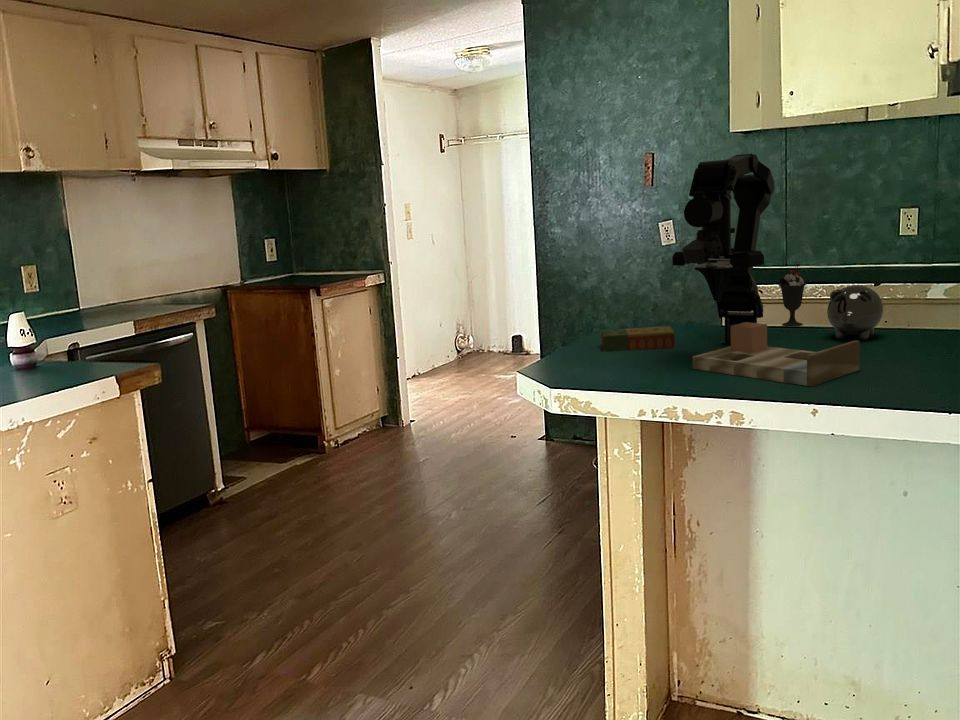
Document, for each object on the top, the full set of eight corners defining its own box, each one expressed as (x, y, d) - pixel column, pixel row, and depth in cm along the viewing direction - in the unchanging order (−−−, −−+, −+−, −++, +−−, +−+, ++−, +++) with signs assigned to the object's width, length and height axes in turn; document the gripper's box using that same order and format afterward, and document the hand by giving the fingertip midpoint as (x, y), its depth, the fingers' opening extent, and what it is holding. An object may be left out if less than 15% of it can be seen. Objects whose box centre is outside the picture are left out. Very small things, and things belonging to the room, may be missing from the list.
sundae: (807, 322, 205) (808, 262, 202) (805, 327, 199) (806, 265, 196) (779, 322, 208) (779, 263, 205) (776, 327, 202) (776, 265, 199)
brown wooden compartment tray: (692, 368, 164) (692, 341, 163) (741, 355, 173) (740, 329, 172) (812, 386, 144) (812, 355, 143) (859, 369, 153) (859, 340, 152)
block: (730, 350, 167) (730, 325, 166) (745, 346, 170) (745, 322, 169) (752, 352, 163) (752, 327, 162) (767, 348, 166) (767, 324, 165)
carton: (675, 349, 185) (674, 331, 185) (603, 353, 187) (602, 334, 186) (670, 342, 194) (670, 324, 193) (601, 346, 195) (600, 328, 195)
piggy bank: (819, 342, 180) (820, 290, 178) (834, 330, 192) (835, 281, 190) (875, 344, 174) (876, 290, 172) (887, 332, 186) (888, 281, 184)
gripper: (653, 227, 170) (656, 303, 173) (731, 226, 155) (732, 308, 158) (688, 223, 176) (689, 296, 179) (765, 222, 162) (765, 301, 165)
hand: (717, 300), depth 170 cm, fingers closed
